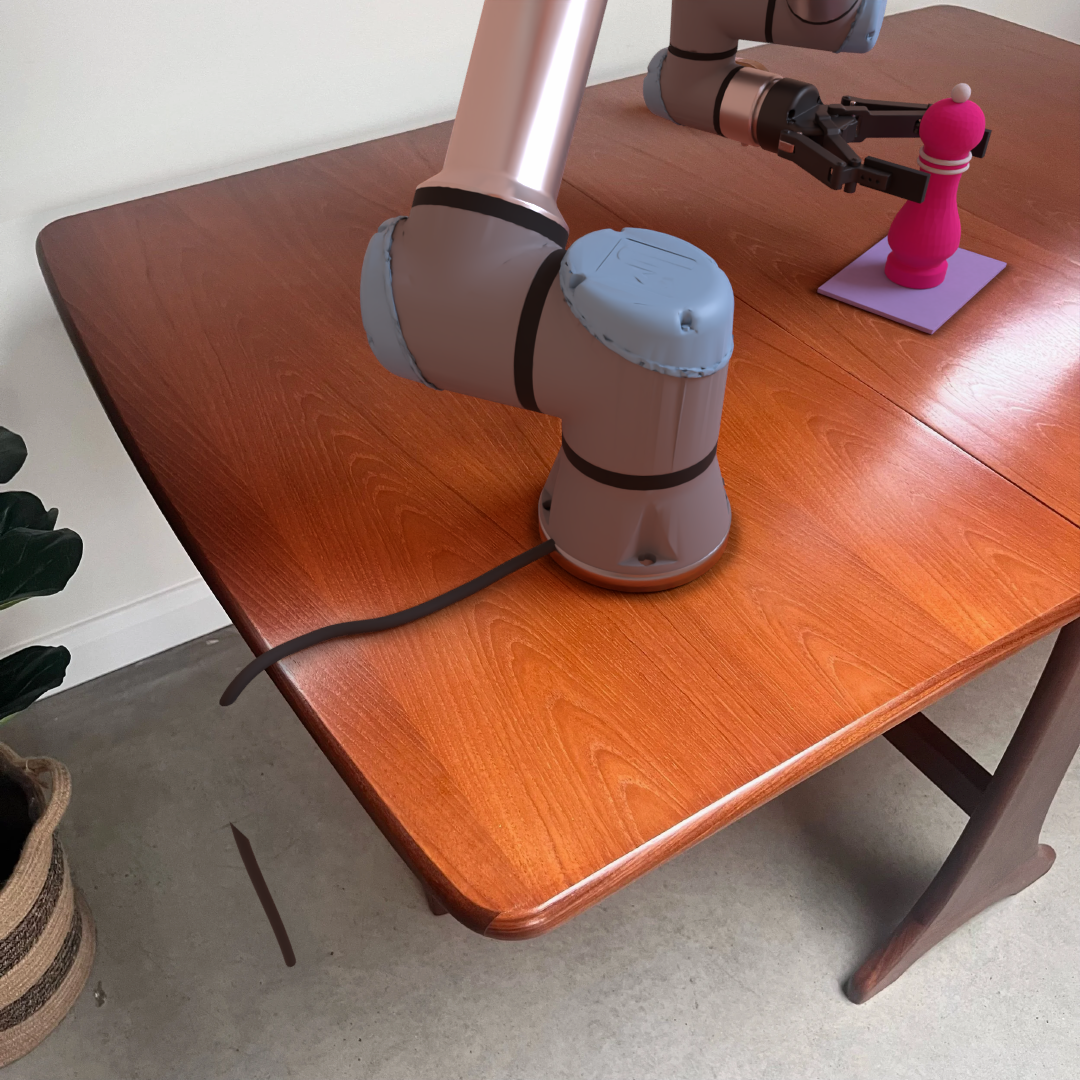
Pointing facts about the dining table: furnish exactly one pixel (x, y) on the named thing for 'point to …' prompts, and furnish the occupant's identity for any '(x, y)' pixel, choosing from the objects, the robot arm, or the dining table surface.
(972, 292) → the lavender flat board
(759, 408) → the dining table surface
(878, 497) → the dining table surface
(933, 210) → the pepper mill
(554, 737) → the dining table surface
